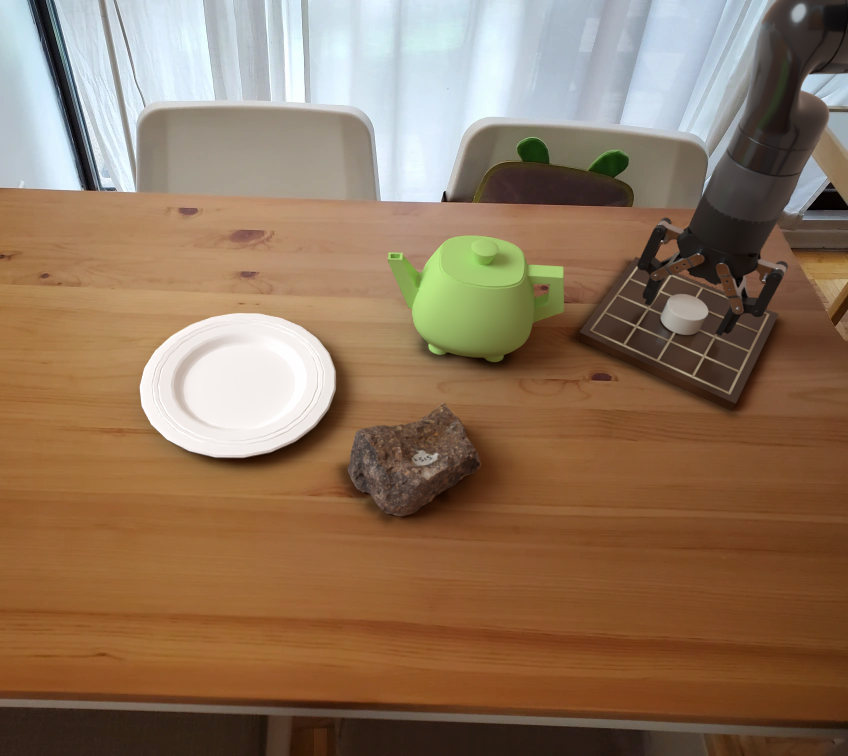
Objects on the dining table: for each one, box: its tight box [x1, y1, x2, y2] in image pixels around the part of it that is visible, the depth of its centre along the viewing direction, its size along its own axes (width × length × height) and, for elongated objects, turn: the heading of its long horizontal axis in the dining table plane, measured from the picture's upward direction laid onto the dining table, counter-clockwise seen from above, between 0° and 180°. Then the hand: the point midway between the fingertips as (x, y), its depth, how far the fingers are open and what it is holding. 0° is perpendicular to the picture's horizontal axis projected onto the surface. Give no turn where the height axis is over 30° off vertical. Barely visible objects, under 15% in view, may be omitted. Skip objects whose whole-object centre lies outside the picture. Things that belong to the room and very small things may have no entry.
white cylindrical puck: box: [661, 294, 708, 335], centre depth 85 cm, size 5×5×2 cm
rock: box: [347, 402, 482, 517], centre depth 69 cm, size 13×8×6 cm, turn 120°
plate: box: [139, 312, 337, 459], centre depth 77 cm, size 21×21×2 cm
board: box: [576, 256, 779, 411], centre depth 86 cm, size 18×18×1 cm
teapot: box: [387, 235, 565, 363], centre depth 81 cm, size 20×13×13 cm
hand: (684, 316), depth 85 cm, fingers open, 8 cm apart
